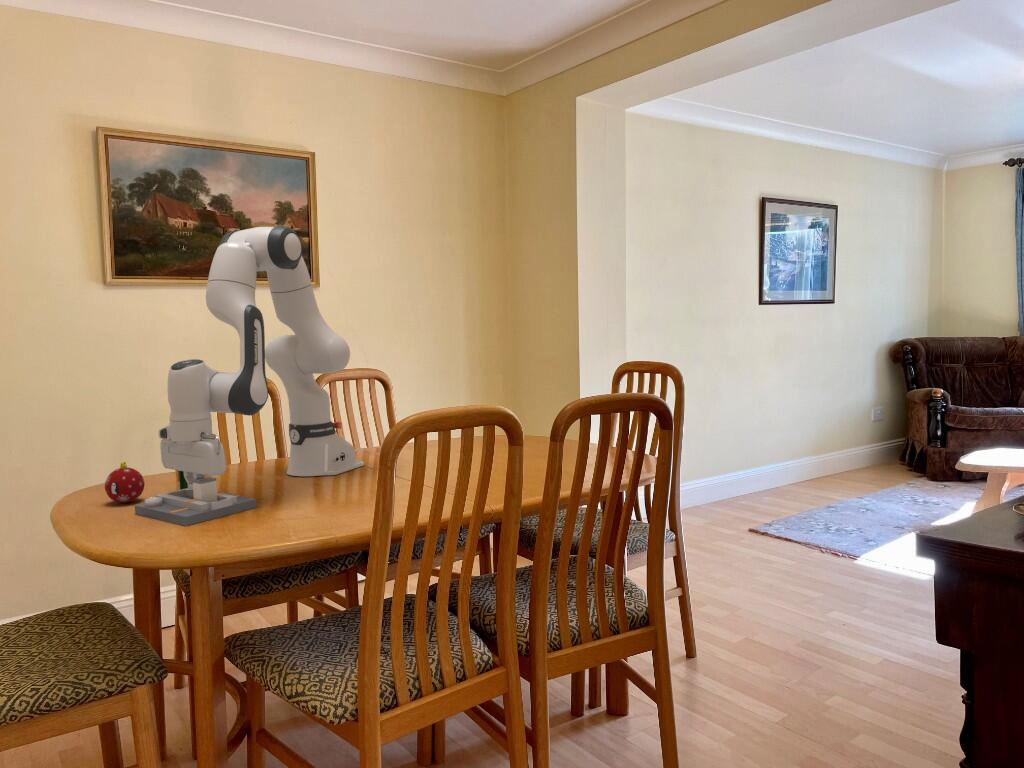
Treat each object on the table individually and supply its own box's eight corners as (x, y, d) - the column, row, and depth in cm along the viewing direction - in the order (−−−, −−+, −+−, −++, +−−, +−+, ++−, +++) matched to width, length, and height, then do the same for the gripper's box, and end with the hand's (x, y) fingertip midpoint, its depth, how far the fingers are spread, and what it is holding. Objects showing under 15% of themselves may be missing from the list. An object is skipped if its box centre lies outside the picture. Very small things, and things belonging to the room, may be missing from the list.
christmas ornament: (153, 498, 189) (150, 458, 188) (130, 507, 180) (127, 465, 179) (121, 498, 190) (118, 458, 189) (98, 506, 181) (94, 465, 180)
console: (205, 497, 188) (204, 482, 188) (257, 507, 177) (256, 491, 177) (135, 514, 174) (134, 498, 173) (186, 526, 162) (185, 509, 162)
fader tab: (209, 500, 175) (208, 476, 175) (217, 502, 174) (216, 477, 173) (194, 504, 172) (192, 479, 172) (201, 506, 170) (200, 481, 170)
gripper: (231, 432, 170) (234, 493, 171) (179, 426, 182) (182, 483, 183) (205, 436, 165) (209, 499, 166) (153, 430, 177) (157, 488, 178)
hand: (195, 490), depth 175 cm, fingers closed
